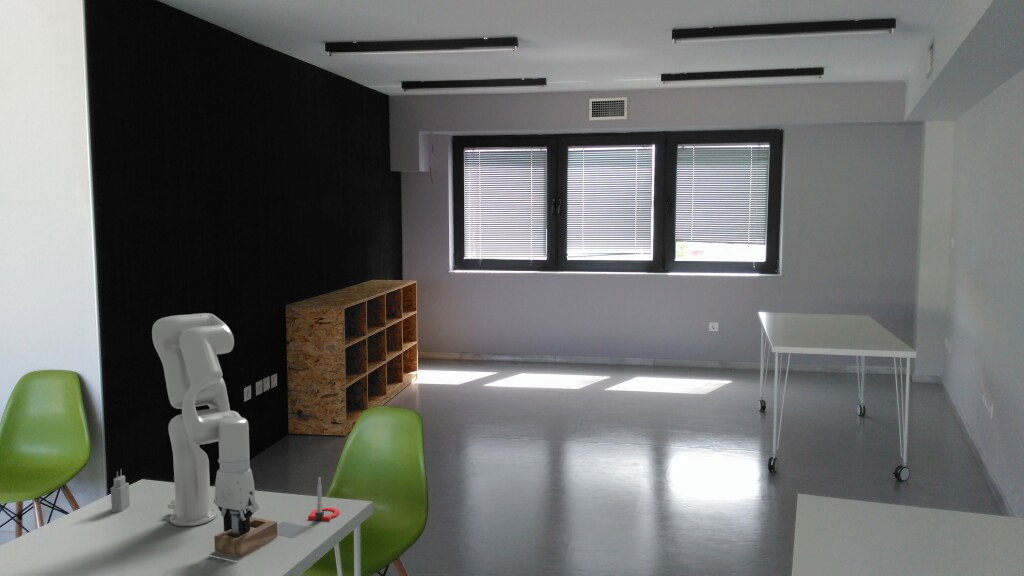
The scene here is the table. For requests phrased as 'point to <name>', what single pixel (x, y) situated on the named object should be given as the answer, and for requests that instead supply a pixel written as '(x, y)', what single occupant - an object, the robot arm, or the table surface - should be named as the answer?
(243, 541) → the block
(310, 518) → the tow hook
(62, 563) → the table surface
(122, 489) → the power adapter
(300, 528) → the mat
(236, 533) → the pin
